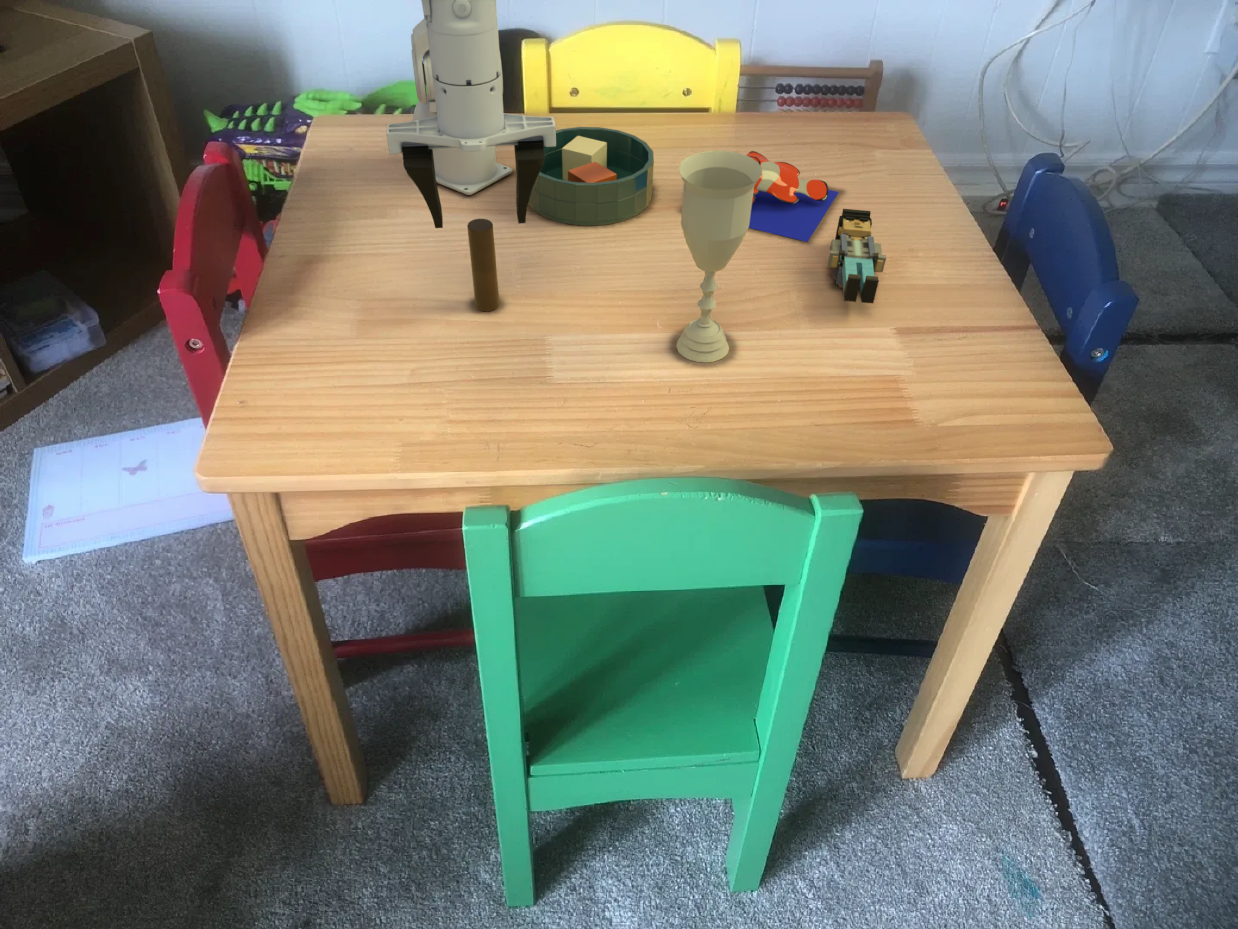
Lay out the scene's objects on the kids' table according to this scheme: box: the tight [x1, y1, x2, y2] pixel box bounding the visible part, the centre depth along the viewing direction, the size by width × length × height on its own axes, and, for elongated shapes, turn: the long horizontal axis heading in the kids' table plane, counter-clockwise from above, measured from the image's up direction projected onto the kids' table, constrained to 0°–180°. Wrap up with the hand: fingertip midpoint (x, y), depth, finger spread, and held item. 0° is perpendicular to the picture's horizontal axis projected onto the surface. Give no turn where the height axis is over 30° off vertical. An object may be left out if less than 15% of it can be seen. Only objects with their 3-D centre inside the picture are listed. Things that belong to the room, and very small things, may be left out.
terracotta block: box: [568, 162, 617, 183], centre depth 106 cm, size 4×4×4 cm
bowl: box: [528, 126, 655, 227], centre depth 108 cm, size 15×15×5 cm
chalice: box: [676, 150, 762, 363], centre depth 82 cm, size 7×7×18 cm
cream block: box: [562, 136, 607, 181], centre depth 111 cm, size 4×4×4 cm
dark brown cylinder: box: [466, 218, 500, 312], centre depth 89 cm, size 2×2×9 cm
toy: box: [827, 208, 887, 304], centre depth 96 cm, size 6×4×15 cm
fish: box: [745, 150, 830, 205], centre depth 107 cm, size 13×5×9 cm
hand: (480, 220), depth 86 cm, fingers open, 7 cm apart
